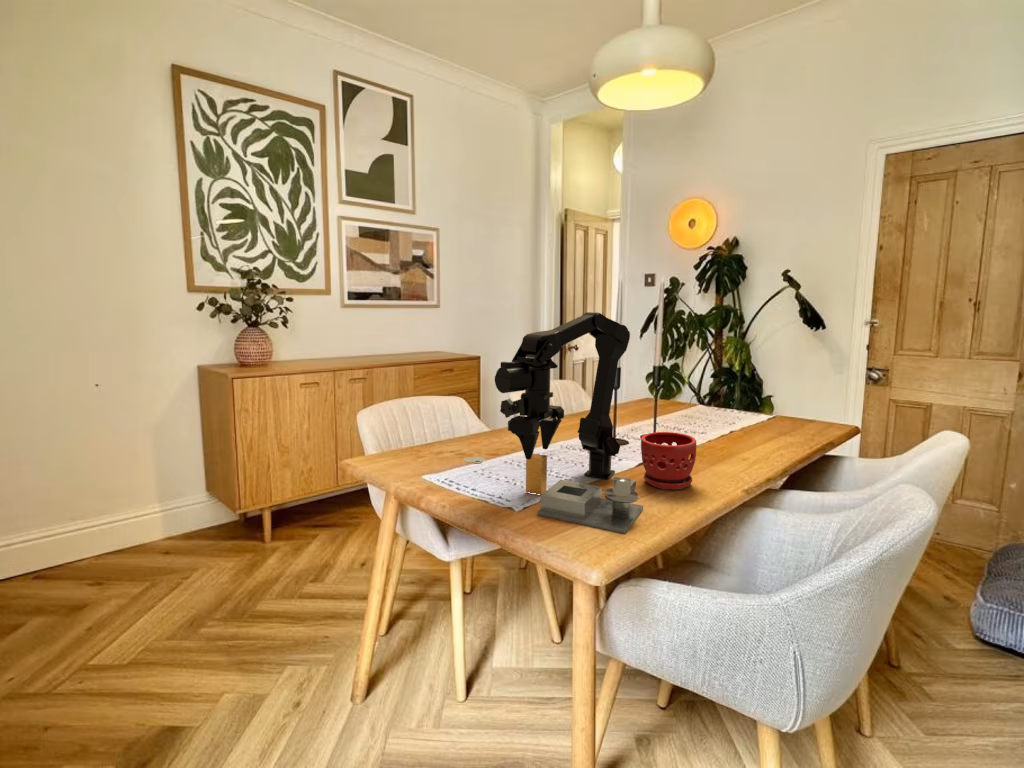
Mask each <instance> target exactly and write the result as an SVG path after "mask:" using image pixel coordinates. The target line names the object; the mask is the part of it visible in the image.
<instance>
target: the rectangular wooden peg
mask: <svg viewBox="0 0 1024 768" xmlns="http://www.w3.org/2000/svg"><path fill="white" fill-rule="evenodd" d="M547 467H548V455H545V454H540V453H539V454H538V453H533V454H532V457H531V459H526V458H525V493H526V492H530V493H536V494H540V495H541V494H542V493H544V492H545V491H546V490H547V479H548V478H547V476H548V474H547V473H548V471H547V470H548V468H547Z"/></svg>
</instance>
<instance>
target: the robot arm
mask: <svg viewBox="0 0 1024 768" xmlns="http://www.w3.org/2000/svg"><path fill="white" fill-rule="evenodd" d="M587 334H589V335H590V336H592V337H593V338H594V346H595V350H596V353H597V355H598V360H597V361H598V362H597V368H596V374H595V380H594V384H593V385H594V386H593V391H592V397H591V404H590V409H589V412H588V413H587V415H586V416H585V417H580V420H579V426H578V429H577V433H578V440H580V443H581V447H582V450H584V451H588V453H589V454H588V456H589V457H588V469H587V471H585V472H584V476H585V477H591V478H592V477H593V478H597V479H598V478H599V479H604V480H609V479H610V478H611V477H612V476H613V475H614V474H615V472H616V471H615V470H613V469H612V457H615V456H617V455H618V454H619V452H620V450H621V445H620V444H619V442H618V441H617V440H616V439H615V437H614V436H613V435H614V425H613V422H612V420H611V417H610V412H611V411H610V410H611V406H612V401H613V396H614V387H615V382H616V377H617V370H618V365H619V361H620V359H621V358H622V357H623V355H624V354H625V352H626V351H627V349H628V346H629V342H630V338H631V333H630V330H629V329H628V327H627V326H626V325H625V324H620V323H619V322H617V321H615V320H612V319H610V318H609V317H606V316H605V314H602V313H601V312H593V311H591V312H590V311H589V312H585V313H583V314H582V315H580V316H578V317H576V318H574V319H572V320H570V321H568V322H565V323H563V324H561V325H558V326H557V327H555V328H553V329H548V330H541V331H536V332H531V333H527V334H526V335H524V336H523V337H522V341H521V344H520V345H519V348H518V349H517V351H516V352H515V355H514V356H513V358H512V360H511V361H501V362H500V367H499V368H498V369H497V370H496V372H495V376H494V383H495V384H494V385H495V388H496V389H497V390H498V392H500V393H501V394H508V393H514V392H515V393H516V392H521V391H524V392H523V393H521V394H520V398H519V399H517V400H514V401H513V400H511V398H508V399H503V400H502V401H501V402H500V410H499V412H500V413H501V414H503V415H504V417H505V418H506V419H507V418H510V417H511V416H513V415H516V416H514V417H512V418H511V419H509V420H508V421H507V431H508V432H511V434H512V435H513V434H514V435H515V436H516V437H517V438H518V439H519V442H520V445H521V447H522V450H523V453H524V454H523V455H524V457H525V460H526V459H531V457H532V454H534V451H535V448H536V445H537V441H538V438H539V436H540V438H541V445H542V446H541V447H542V449H543V450H548V448H549V447H550V445H551V442H552V440H553V438H554V436H555V434H556V431H557V430H558V428H559V426H560V425H561V423H562V419H564V418H565V410H564V408H563V407H562V406H561V405H551V398H553V397H554V392H553V391H552V392H551V369H558V364H557V363H556V362H554V360H553V359H552V358H553V357H554V356H556V355H557V354H558V353H559V352H560V351H561V349H562V347H563V346H565V345H567V344H570V342H573V341H576V339H579V338H581V337H583V336H585V335H587ZM517 414H518V415H517ZM539 429H540V431H539Z"/></svg>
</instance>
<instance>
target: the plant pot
mask: <svg viewBox="0 0 1024 768" xmlns="http://www.w3.org/2000/svg"><path fill="white" fill-rule="evenodd" d="M673 443H675V444H676V445H673ZM640 452H641V453H640V454H641V460H642V465H643V468H644V470H645V472H644V473H643V478H644V480H645V482H646V483H647V484H649V485H651V486H652V487H655V488H657V489H662V490H677V491H678V490H679V491H680V490H682V489H684V488H687V487H688V486H690V485H691V483H692V482H693V477H692V476H691V473H692V472H693V469H694V466H695V462H696V456H697V439H696V438H695V437H693V436H691V435H689V434H685V433H680V432H675V431H674V432H672V431H657V432H655V431H654V432H649V433H646V434H644V435H642V436H641V438H640Z"/></svg>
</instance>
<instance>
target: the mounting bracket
mask: <svg viewBox="0 0 1024 768" xmlns="http://www.w3.org/2000/svg"><path fill="white" fill-rule="evenodd" d="M463 460H464V462H465V463H466V462H468V463H469V462H470V463H471V462H472V464H477V465H480V464H482V463H483V462H484V461H485V462H486V461H487V459H486V458H485V457H484V456H473V457H465V458H463Z"/></svg>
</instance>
